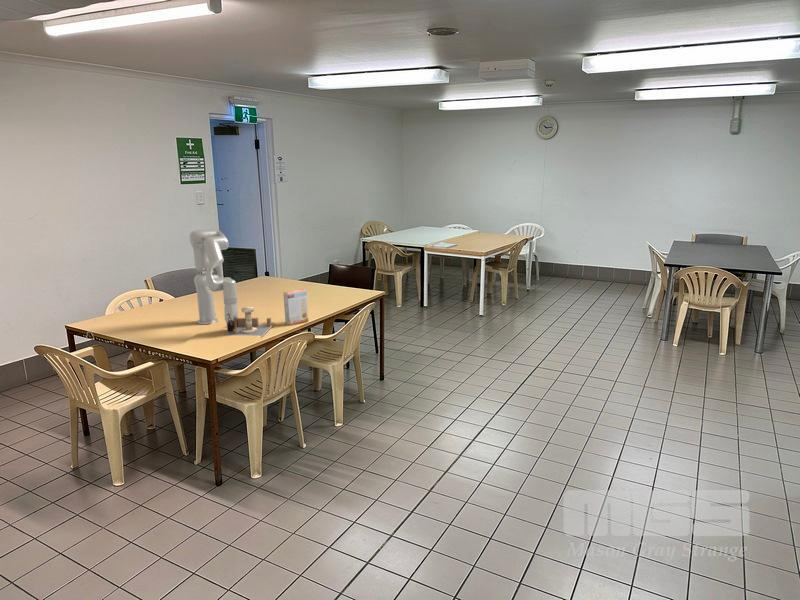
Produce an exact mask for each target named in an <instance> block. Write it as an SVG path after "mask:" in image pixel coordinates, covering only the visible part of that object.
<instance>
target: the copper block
mask: <svg viewBox="0 0 800 600" xmlns="http://www.w3.org/2000/svg"><path fill="white" fill-rule="evenodd" d="M229 320H231V319H229ZM230 323H231V321H230ZM232 325H233V332H229V333H235V332H237V331H238V330H237V319H234V320H233V321H232Z"/></svg>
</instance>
